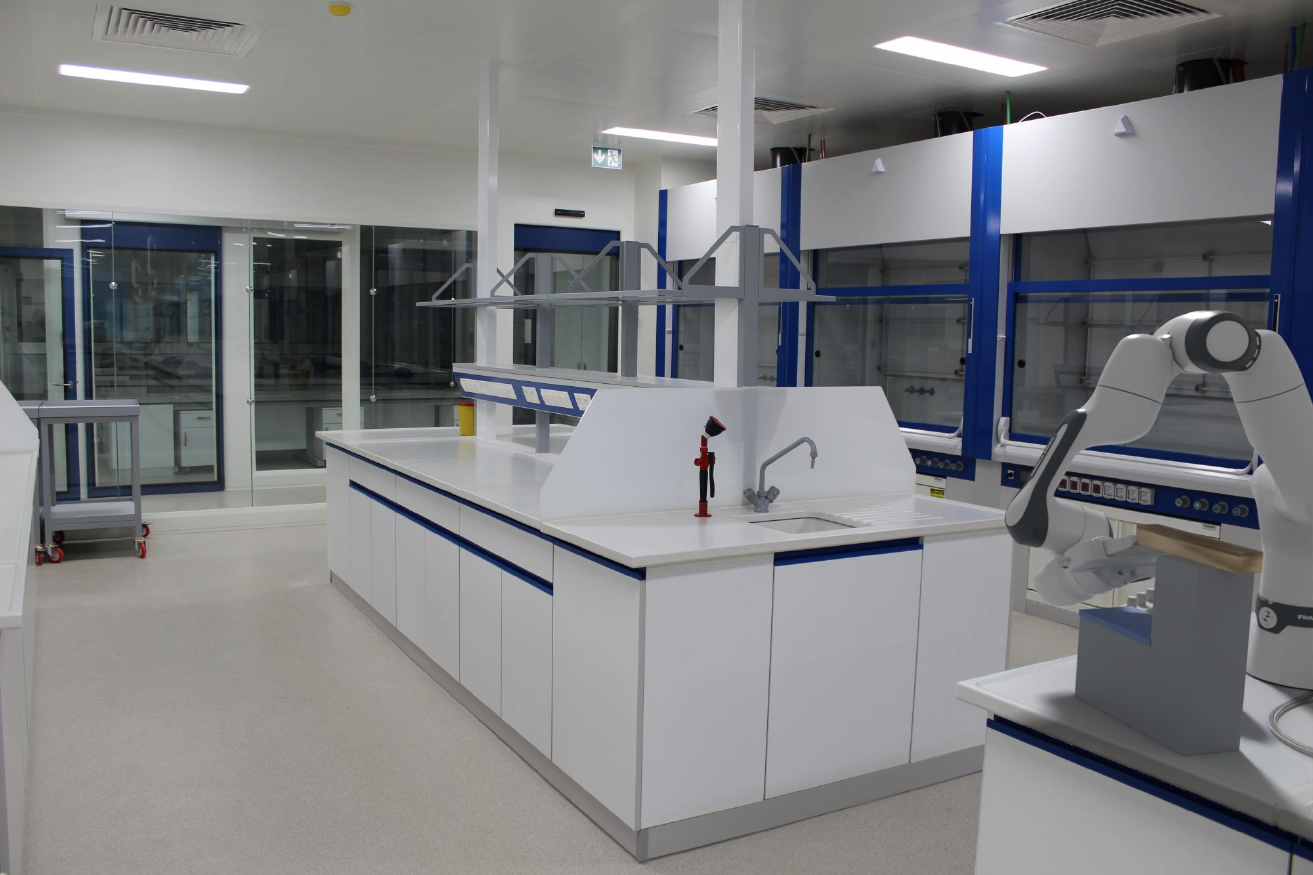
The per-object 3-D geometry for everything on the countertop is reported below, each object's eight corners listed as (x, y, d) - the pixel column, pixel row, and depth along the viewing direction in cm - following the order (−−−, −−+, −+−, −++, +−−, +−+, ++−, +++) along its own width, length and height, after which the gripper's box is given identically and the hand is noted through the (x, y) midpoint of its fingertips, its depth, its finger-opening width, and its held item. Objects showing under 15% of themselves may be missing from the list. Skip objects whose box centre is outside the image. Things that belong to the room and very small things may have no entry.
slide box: (1156, 542, 158) (1157, 523, 158) (1261, 572, 139) (1263, 551, 138) (1135, 543, 157) (1136, 524, 157) (1238, 574, 138) (1240, 553, 137)
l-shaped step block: (1125, 690, 170) (1136, 531, 166) (1240, 749, 146) (1256, 564, 143) (1073, 695, 167) (1083, 533, 164) (1182, 755, 144) (1197, 568, 141)
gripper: (1045, 548, 165) (1096, 522, 153) (1148, 543, 171) (1205, 517, 158) (1055, 585, 163) (1108, 561, 151) (1159, 578, 168) (1218, 554, 156)
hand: (1159, 538), depth 155 cm, fingers open, 8 cm apart
